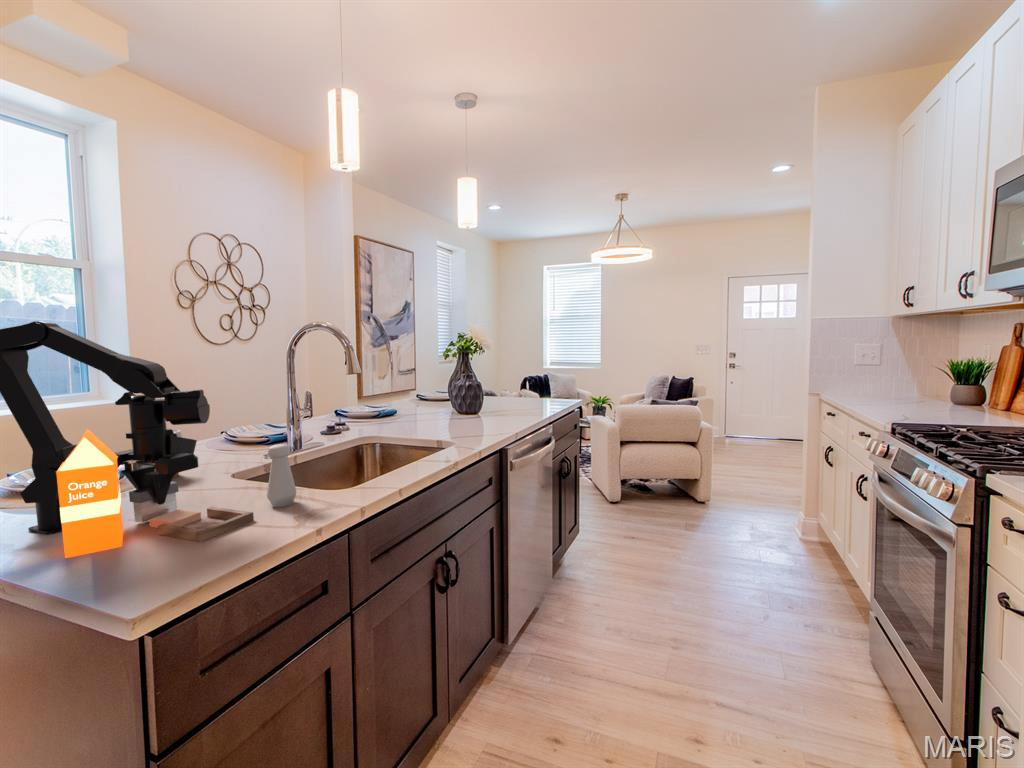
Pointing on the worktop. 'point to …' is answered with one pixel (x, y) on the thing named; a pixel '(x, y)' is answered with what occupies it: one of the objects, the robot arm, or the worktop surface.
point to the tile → (176, 518)
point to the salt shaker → (280, 477)
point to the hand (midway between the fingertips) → (155, 503)
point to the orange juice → (90, 498)
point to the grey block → (152, 503)
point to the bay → (234, 521)
